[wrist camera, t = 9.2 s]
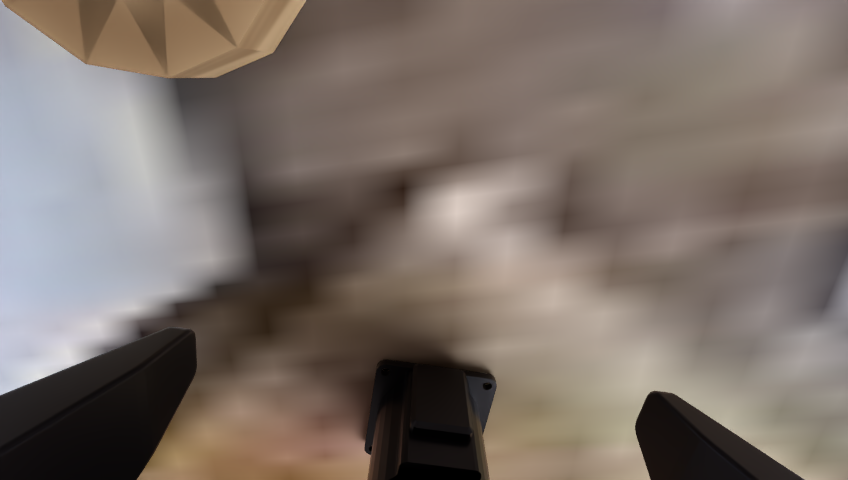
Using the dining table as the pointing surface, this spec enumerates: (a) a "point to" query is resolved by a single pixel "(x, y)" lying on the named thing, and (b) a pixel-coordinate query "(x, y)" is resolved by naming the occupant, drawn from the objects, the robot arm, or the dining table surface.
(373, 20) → the dining table surface
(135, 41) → the wooden bead
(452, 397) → the robot arm
